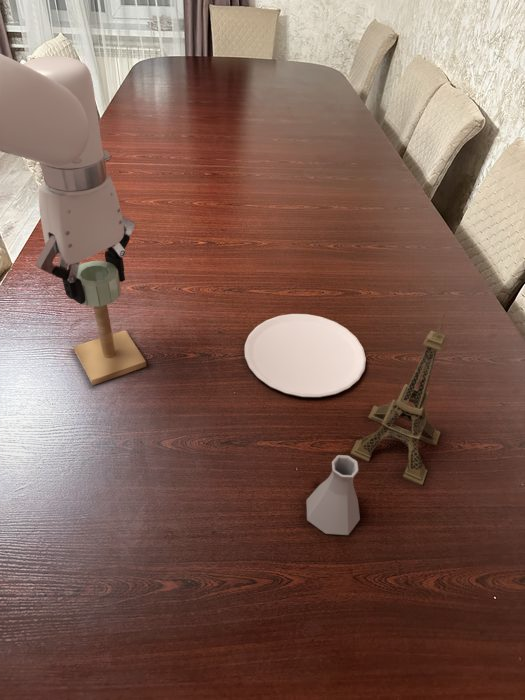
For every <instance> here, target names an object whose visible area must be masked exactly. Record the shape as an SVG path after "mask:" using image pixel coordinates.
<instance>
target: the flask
mask: <svg viewBox="0 0 525 700" xmlns="http://www.w3.org/2000/svg"><path fill="white" fill-rule="evenodd" d="M358 472H359V464H358V461H357V460H356V459H354V458H353V457H352V456H350V455H343V454H337V455H336V457H335V458H333V460H332V461H331V473H330V474H329V476H328V477H327V478H326V479H325V480H324V481H323V482H321V483H320V484H318V486H317V487H316V488H315V489H314V491H312V493H311V494H310V495H309V496H308V497H307V499H306V503H305V504H306V521H307V522H309V523H310V524H312V525H313V526H314V527H316V528H317V529H318V530H320V531H322V533H324V534H325V535H339V536H349V535H350V533H352V531H353V530H354V528H355V527H356V525H357V524H358V523H359V521H360V520H361V518H360V517H361V516H360V515H361V513H360V506H359V499H358V495H357V492H356V489H355V486H354V478H355V476H356V475H357V474H358Z"/></svg>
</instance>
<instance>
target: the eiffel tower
mask: <svg viewBox="0 0 525 700" xmlns="http://www.w3.org/2000/svg"><path fill="white" fill-rule="evenodd" d="M446 313H447V310H445V311H444V313H443V317H442V319H441V321H440V323H439V326H438V328H437V330H436V331H434V330H430V331H429V333H428V334H427V335H426V337H425V339H424V342H423V343H422V345H423V346H426V348H425V350H424V352H423V354H422V356H421V358H420V360H419V361H418V364H417V366H416V368H415V370H414V372H413V375H412V376H411V379H410V381H409V383H408V384H407V383H405V384H404V386H402V389H401V392H400V394H399V396H398V398H397V399H396V400H395V399H394V398H393V399H392V401H391V402H390V404H382V405H379V406H377V405H375V404H374V405H373V407H372V408H371V410H370V413H369V414H368V416H367V419H369V420H370V421H371V420H372V421H374V422H376V423H379V424H380V426H379V428H378V429H377V430H376V431H375V432H373V433H371V434H369V435H367V436H365V437H362V438H361V439H356V440H355V443H354V445H353V447H352V449H351V451H350V453H349V454H350V455H351V456H353V457H355V458H358V459H360V460H363V461H364V462H367V463H369V462H370V459H371V457H372V455H373V453H374V450H375V448H376V447H377V446H378V444H380V442H381V441H382V440H383V439H384V438H390V439H396V440H398V441H400V442H401V443H403V444H404V445H405V446H406V447H408V451H407V452H408V453H407V465H406V468H405V470H404V472H403V475H402V478H403V479H405V480H408V481H409V482H412V483H414V484H416V485H419V486H421V487H422V486H423V484H424V482H425V479H426V476H427V473H428V469H427V468H426V467H425V464H424V461H423V458H422V456H421V454H420V451H419V440H420V441H422V442H425V443H427V444H428V445H429V444H430V445H432V446H434V447H436V446H437V444H438V441H439V438H440V436H441V431H439V430H436V427H435V426H434V425H433V423H431V421H430V420H429V418H428V417H429V415H430V413H429V412H426V408H425V407H426V405H427V402H428V400H429V397H430V392H429V391H427V389H428V385H429V383H430V379H431V374H432V371H433V367H434V363H435V359H436V356H437V352H438V351H440V352H441V351H442V349H443V347H444V344H445V342H446V340H445V337H446V335H445V334H442V333H440V331H441V328H442V325H443V322H444V319H445V316H446ZM419 380H420V381H419ZM418 382H419V384H418ZM417 384H418V388H416V387H417ZM409 402H410V403H412V404H413V406H410V405H408V403H409ZM398 419H404V420H405V421H409V423H410V430H409V429H405V428H403V427H401V426H399V425H396V424H394V423H395V422H396V421H397V420H398Z"/></svg>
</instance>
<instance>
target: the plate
mask: <svg viewBox="0 0 525 700" xmlns="http://www.w3.org/2000/svg"><path fill="white" fill-rule="evenodd" d="M244 359H245V361H246V363H247V366H248V369H249V370H250V371H251V372H252V373H253V375H254V376H255V377H256V378H257V379H258V380H259V381H261V382H262V383H263V384H265V385H266V386H268V387H269V388H271V389H273V390H275V391H279V392H281V393H283V394H285V395H291V396H295V397H300V398H319V399H320V398H325V397H329V396H335V395H337V394H340V393H342V392H344V391H346V390H349V389H350V388H352V387H353V385H355V384H356V383H357V382H358V381H359V380H360V378H361V377H362V375H363V374H364V372H365V369H366V361H367V356H366V353H365V349H364V347H363V346H362V343H360V340H359V339H358V338H357V336H356V335H354V333H352V332H351V331H350V330H349V329H348V328H346V327H344V326H343V325H341V324H339V323H338V322H337V321H334V320H332V319H328V318H325V317H322V316H319V315H314V314H308V313H290V314H282V315H277V316H275V317H272V318H269V319H266V320H264V321H263V322H261V323H260V324H258V325H257V326H255V327H254V329H252V330H251V332H250V333H249V334H248V336H247V338H246V340H245V344H244Z"/></svg>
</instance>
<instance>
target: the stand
mask: <svg viewBox="0 0 525 700" xmlns="http://www.w3.org/2000/svg"><path fill="white" fill-rule="evenodd" d="M92 308H93V312H94V317H95V322H96V326H97V332H98V338H95V339H92V340H90V341H86V342H82V343H80V344H77V345H74V346H73V349H74V352H75V354H76V357H77V359H78V360H79V362H80V364H81V367H82V368H83V370H84V372H85V374H86V376H87V377H88V379H89V381H90V383H91V385H92V386H95V385H99V384H101V383H104V382H107V381H110V380H112V379H114V378H118V377H120V376H124V375H127V374H129V373H132V372H134V371H138V370H140V369H143V368H146V367H147V361H146V359H145V357H144V356H143V354H142V353H141V352H140V350H139V349H138V347H137V345H136V344H135V342H134V341H133V339H132V338H131V336H130V335H129V333H128V331H127V330H126V329H124V330H121V331H118V332H117V331H116V332H115V333H113V331H112V325H111V319H110V314H109V307H108V304H107V305H104V306H92Z"/></svg>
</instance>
